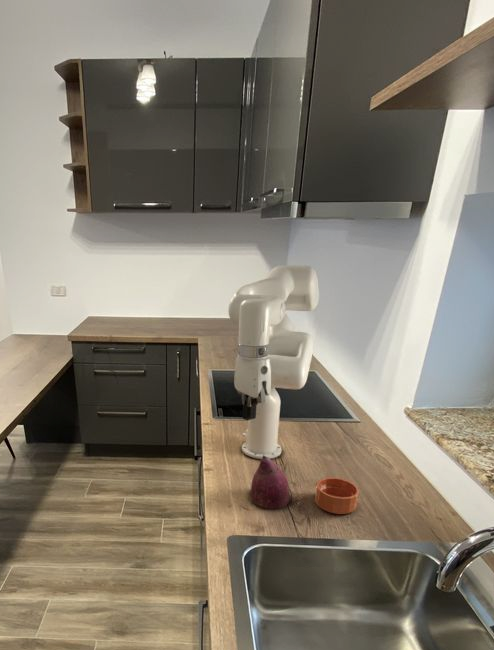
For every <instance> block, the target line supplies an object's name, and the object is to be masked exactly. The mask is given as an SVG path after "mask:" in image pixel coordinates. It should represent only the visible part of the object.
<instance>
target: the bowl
mask: <svg viewBox="0 0 494 650" xmlns="http://www.w3.org/2000/svg"><path fill="white" fill-rule="evenodd" d="M359 495H360V490H359V487H358V486H357V485H356V484H355V483H354V482H351V481H350V480H347V479H344V478H341V477H333V476H332V477H324V478H321V479H320V480H318V481H317V482H316V487H315V495H314V503H315V504H316V506H318V507H319V508H320V509H322V510H323V511H325V512H327V513H332V514H336V515H346V514H350V513H352V512H353V513H354V511H355V510H356V509H357V507H358V501H359Z"/></svg>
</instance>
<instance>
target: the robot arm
mask: <svg viewBox="0 0 494 650" xmlns="http://www.w3.org/2000/svg"><path fill="white" fill-rule="evenodd" d="M319 300H320V287H319V278H318V274H317V271H316V270H315V268H314V267H313V266H310V265H299V264H298V265H296V264H295V265H292V264H291V265H290V264H285V265H284V264H282V265H281V264H280V265H277V266H275V267H273V268H272V269H270V271H269V273H267V275H266V276H265V278H263V279H260V280H257V281H254V282H251V283H247V284H245V285H243V286H241V287H239V288H238V289H237V290H236V291H235V293H234V294H233V295H232V297H231V299H230V300H229V304H228V309H227V310H228V311H227V312H228V317H229V319H230V320H231V321H232V322H233V323H234V324H238V339H237V341H238V342H237V355H236V360H235V366H234V374H233V375H234V379H233V384H234V385H233V386H234V388H235V390H236V393H237V394H239V396H240V397H241V403H242V419H243V420H245V421H247V429H245V432H243V433H242V435H241V436H242V437H243V438H244V439H245V442H243V443H242V445H241V451H242V453H244V454H245V455H246V456H248V457H250V458H253V459H258V460H261V458H262V457H263V455H264V456H266V457H269V458H270V459H271V460H272V459H276V458H278V457H279V456H281V454H282V450H283V449H282V447H281V445H280V444H279V443H278V437H279V427H280V425H279V424H280V413H281V403H282V402H281V397H280V395H279V393H278V391H277V390H276V389H286V390H301V389H302V388H304V387H305V385H306V383H307V380H308V376H309V372H310V369H311V362H312V358H313V353H314V339H313V336H312V335H311V334H309V333H308V332H303V331H294V322H293V321H292V320H291V318H290V317H289V315H288V314H286V313H287V312H286V311H290V312H291V311H293V312H294V311H295V312H312V311H314V310H315V309H316V308H317V306H318V304H319V302H320V301H319Z"/></svg>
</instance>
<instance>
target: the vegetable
mask: <svg viewBox="0 0 494 650" xmlns="http://www.w3.org/2000/svg"><path fill="white" fill-rule="evenodd" d="M290 494H291V493H290V485H289V482H288V478H287V477H286V475H285V472H284V471H283V470H282V469H281V467H280V466H279V465H278V464H276V463H275V462H274V461H273V460H272V459H270V458H269V457H266V456H264V455H263V457H262V458H261V459H260V460H259V465H258V467H257V469H256V471H255V473H254V474H253V477H252V479H251V486H250V501H251V502H252V504H253V505H256V506H258V507H261V508H264V509H273V510H274V509H282V508H284V507H286V506H287V505H288V504H289V502H290V496H291V495H290Z"/></svg>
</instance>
